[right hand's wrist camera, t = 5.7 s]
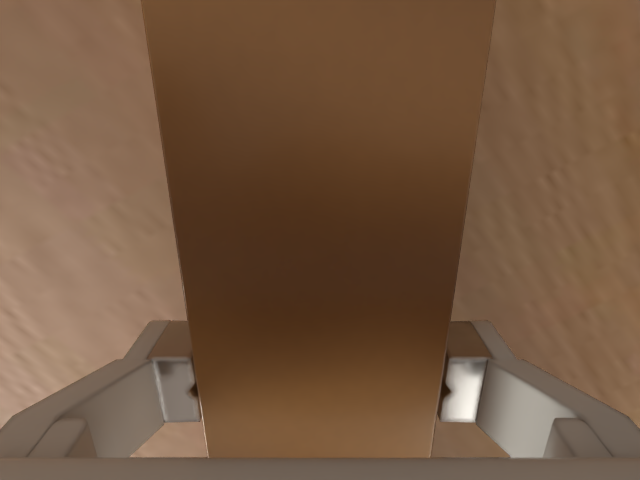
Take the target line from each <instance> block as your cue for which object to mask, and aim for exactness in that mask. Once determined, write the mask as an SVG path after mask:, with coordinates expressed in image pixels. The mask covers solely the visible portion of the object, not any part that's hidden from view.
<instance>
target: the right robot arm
mask: <svg viewBox="0 0 640 480" xmlns="http://www.w3.org/2000/svg"><path fill="white" fill-rule="evenodd" d="M437 414H438V417H439V420H440V422H475V423H476V425H477V426H478V427H479V428H481V429H482V430H483V431H484V432H485V433H486V434H487V435H488V436H489V437H490V438H491V439H492V440H493V441H495V442H496V443H497V444H498V445H499V446H500V447H501V448H502V449H503V450H504V451H505V452H506V453H507V454H508V455H510V456H511V457H512V458H276V457H193V458H128V457H130V456H131V455H132V454H133V453H134V452H135V451H136V450H137V449H138V448H139V447H140V446H141V445H142V444H144V443H145V442H146V441H147V440H148V439H149V438H150V437H151V436H152V435H153V434H154V433H155V432H156V431H158V430H159V429H160V428H161V427H162V426H163V425H164V423H165V422H200V420H201V417H202V416H201V410H200V403H199V396H198V389H197V382H196V375H195V368H194V361H193V355H192V348H191V341H190V334H189V327H188V321H170V320H162V321H151V322H149V323H148V324H147V326H146V327H145V329H144V330H143V331H142V333H141V334H140V336H139V337H138V338H137V340H136V341H135V343H134V344H133V346H132V347H131V348H130V350H129V351H128V353H127V354H126V355H125V357H124V358H123V360H115V361H113V362H111V363H109V364H107V365H106V366H104V367H102V368H100V369H98V370H96V371H95V372H93V373H91V374H89V375H87V376H85V377H84V378H82V379H80V380H78V381H76V382H74V383H72V384H71V385H69V386H67V387H65V388H63V389H61V390H60V391H58V392H56V393H54V394H52V395H50V396H49V397H47V398H45V399H43V400H41V401H39V402H38V403H36V404H34V405H32V406H30V407H28V408H26V409H25V410H23V411H21V412H19V413H17V414H15V415H14V416H12V417H11V418H10V419H9V421H8V422H7V423H6V424H5V425H4V426H3V427H2V428H1V429H0V480H640V429H639V428H638V427H637V426H636V425H635V424H634V422H633V421H632V420H631V419H630V418H629V417H628V416H626V415H624V414H622V413H621V412H619V411H617V410H615V409H613V408H611V407H610V406H608V405H606V404H604V403H602V402H600V401H599V400H597V399H595V398H593V397H591V396H589V395H588V394H586V393H584V392H582V391H580V390H578V389H577V388H575V387H573V386H571V385H569V384H567V383H566V382H564V381H562V380H560V379H558V378H556V377H555V376H553V375H551V374H549V373H547V372H545V371H544V370H542V369H540V368H538V367H536V366H534V365H533V364H531V363H529V362H527V361H525V360H517V358H516V357H515V355H514V354H513V353H512V351H511V350H510V348H509V347H508V346H507V344H506V343H505V341H504V340H503V339H502V337H501V336H500V334H499V333H498V332H497V330H496V329H495V327H494V326H493V325H492V323H491V322H489V321H488V320H479V321H451V322H450V327H449V334H448V341H447V348H446V355H445V362H444V369H443V376H442V383H441V390H440V397H439V404H438V411H437Z"/></svg>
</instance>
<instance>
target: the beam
mask: <svg viewBox="0 0 640 480" xmlns="http://www.w3.org/2000/svg"><path fill="white" fill-rule="evenodd" d="M141 4H142V11H143V18H144V25H145V32H146V39H147V45H148V52H149V59H150V66H151V73H152V80H153V87H154V94H155V100H156V107H157V114H158V121H159V128H160V135H161V142H162V148H163V155H164V162H165V169H166V176H167V183H168V190H169V197H170V203H171V210H172V217H173V224H174V231H175V238H176V245H177V252H178V258H179V265H180V272H181V279H182V286H183V293H184V300H185V306H186V313H187V320H188V327H189V334H190V341H191V348H192V355H193V361H194V368H195V375H196V382H197V389H198V396H199V403H200V410H201V416H202V423H203V430H204V437H205V444H206V451H207V457H276V458H431V453H432V446H433V439H434V432H435V425H436V418H437V411H438V404H439V397H440V390H441V383H442V376H443V369H444V362H445V355H446V348H447V341H448V334H449V327H450V320H451V313H452V306H453V299H454V292H455V285H456V278H457V271H458V264H459V257H460V250H461V243H462V236H463V229H464V222H465V215H466V208H467V201H468V194H469V187H470V180H471V173H472V166H473V159H474V152H475V145H476V138H477V131H478V124H479V117H480V110H481V103H482V96H483V89H484V82H485V75H486V68H487V61H488V54H489V47H490V40H491V33H492V26H493V19H494V12H495V5H496V0H141Z"/></svg>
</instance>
